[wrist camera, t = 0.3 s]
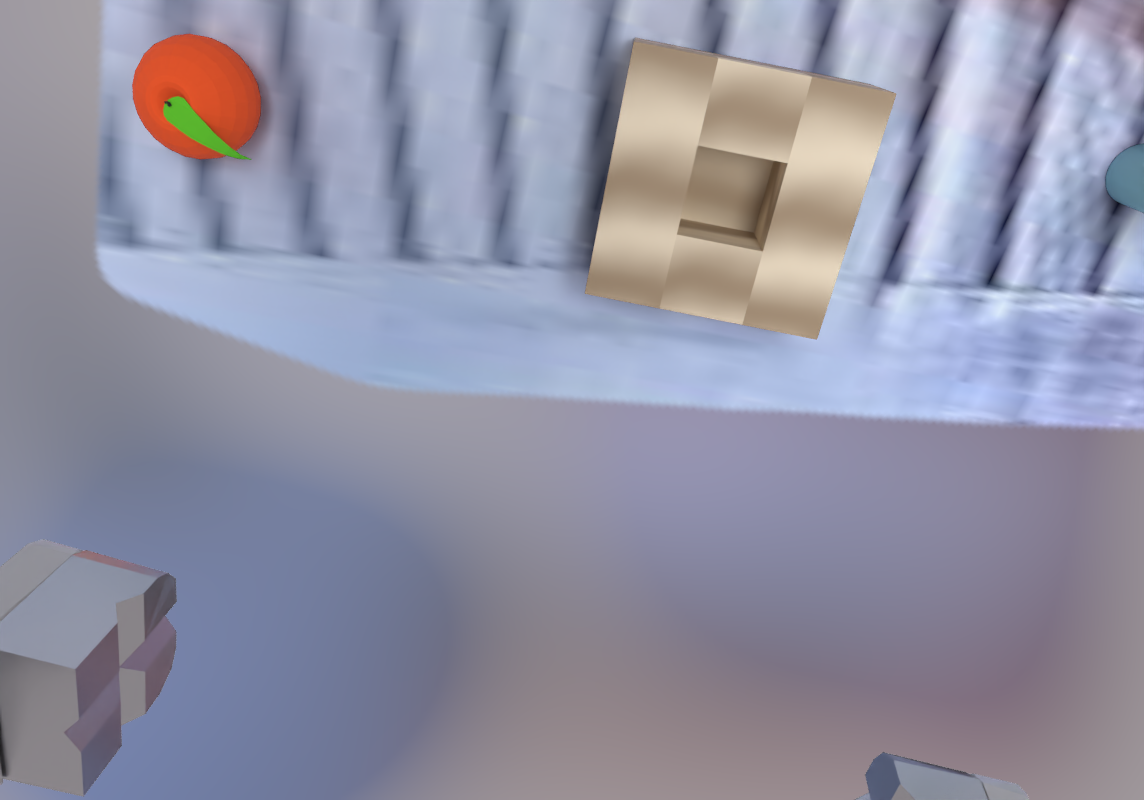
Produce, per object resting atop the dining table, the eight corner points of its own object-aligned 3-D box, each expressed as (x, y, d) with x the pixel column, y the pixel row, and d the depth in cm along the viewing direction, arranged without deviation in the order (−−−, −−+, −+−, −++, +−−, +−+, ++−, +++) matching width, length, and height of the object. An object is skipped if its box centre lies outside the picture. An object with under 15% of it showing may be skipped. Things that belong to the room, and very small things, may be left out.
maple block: (635, 37, 50) (634, 41, 45) (869, 84, 50) (896, 93, 45) (590, 265, 56) (584, 293, 51) (800, 307, 56) (816, 339, 51)
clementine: (315, 109, 53) (269, 123, 47) (248, 185, 56) (196, 208, 49) (213, 5, 51) (151, 6, 45) (148, 89, 54) (81, 101, 47)
